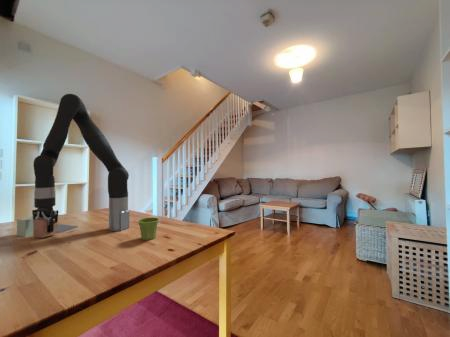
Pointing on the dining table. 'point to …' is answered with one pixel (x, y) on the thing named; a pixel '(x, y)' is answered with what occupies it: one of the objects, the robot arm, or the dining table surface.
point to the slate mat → (64, 228)
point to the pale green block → (25, 227)
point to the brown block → (42, 228)
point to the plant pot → (148, 227)
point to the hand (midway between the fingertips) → (45, 231)
